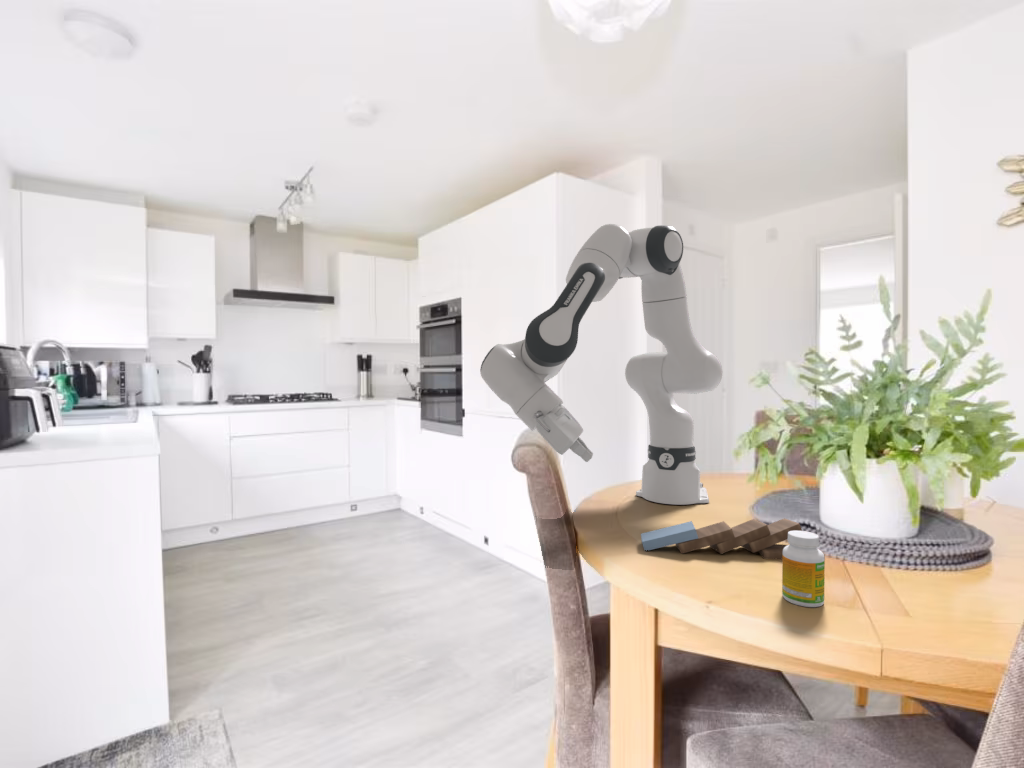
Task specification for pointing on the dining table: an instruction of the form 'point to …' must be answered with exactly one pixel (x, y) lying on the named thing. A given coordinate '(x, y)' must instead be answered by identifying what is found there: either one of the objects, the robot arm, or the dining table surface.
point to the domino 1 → (669, 536)
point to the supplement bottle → (803, 570)
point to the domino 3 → (743, 535)
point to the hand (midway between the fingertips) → (590, 458)
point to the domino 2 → (707, 537)
